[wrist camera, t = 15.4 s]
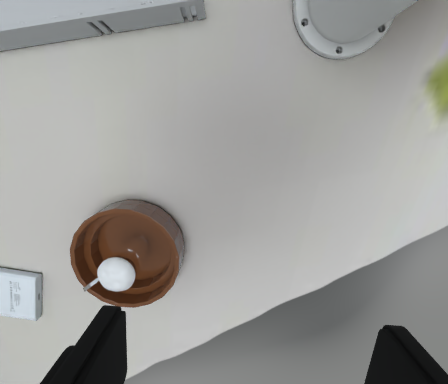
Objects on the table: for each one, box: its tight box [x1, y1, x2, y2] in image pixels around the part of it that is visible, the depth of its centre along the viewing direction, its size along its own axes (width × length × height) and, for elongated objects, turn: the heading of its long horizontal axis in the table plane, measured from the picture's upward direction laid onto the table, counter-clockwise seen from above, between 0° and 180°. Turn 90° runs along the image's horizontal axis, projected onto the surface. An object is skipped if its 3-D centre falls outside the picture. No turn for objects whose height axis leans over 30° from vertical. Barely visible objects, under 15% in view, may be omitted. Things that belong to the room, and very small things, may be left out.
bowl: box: [70, 200, 184, 307], centre depth 36 cm, size 15×15×5 cm
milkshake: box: [83, 236, 149, 292], centre depth 33 cm, size 4×5×10 cm
